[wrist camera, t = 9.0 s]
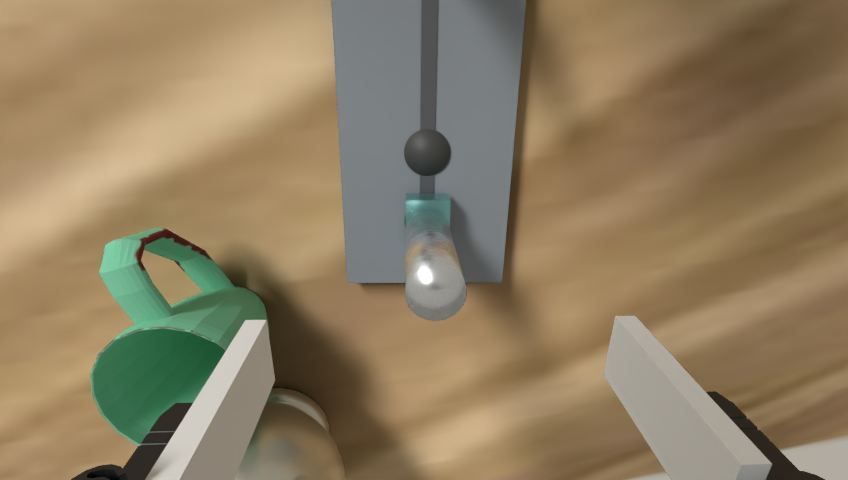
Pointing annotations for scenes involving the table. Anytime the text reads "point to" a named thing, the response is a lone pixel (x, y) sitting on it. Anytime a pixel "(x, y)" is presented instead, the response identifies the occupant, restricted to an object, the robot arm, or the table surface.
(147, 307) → the mug
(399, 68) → the grey and teal piece
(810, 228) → the table surface
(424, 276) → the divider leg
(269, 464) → the teapot
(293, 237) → the table surface
